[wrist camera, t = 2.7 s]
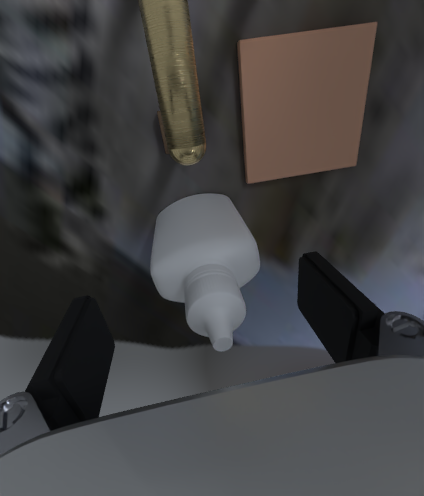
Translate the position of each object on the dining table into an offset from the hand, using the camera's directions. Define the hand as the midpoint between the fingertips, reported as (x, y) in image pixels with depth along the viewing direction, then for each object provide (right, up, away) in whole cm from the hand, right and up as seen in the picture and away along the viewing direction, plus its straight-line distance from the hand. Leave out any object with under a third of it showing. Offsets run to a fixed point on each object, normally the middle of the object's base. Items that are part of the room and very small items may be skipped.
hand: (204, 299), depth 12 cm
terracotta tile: (+6, +11, +5) cm, 14 cm away
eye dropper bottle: (-1, +5, +8) cm, 9 cm away
